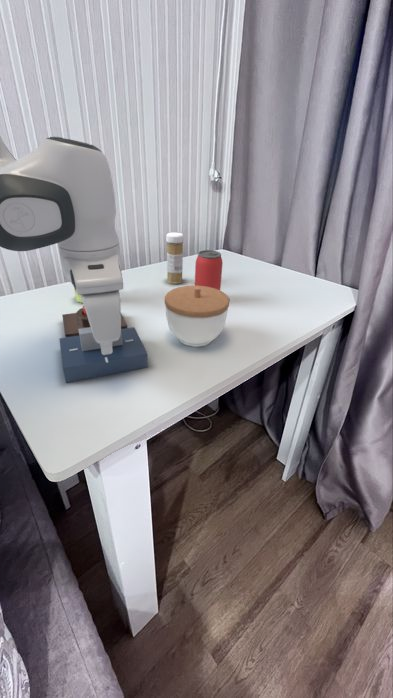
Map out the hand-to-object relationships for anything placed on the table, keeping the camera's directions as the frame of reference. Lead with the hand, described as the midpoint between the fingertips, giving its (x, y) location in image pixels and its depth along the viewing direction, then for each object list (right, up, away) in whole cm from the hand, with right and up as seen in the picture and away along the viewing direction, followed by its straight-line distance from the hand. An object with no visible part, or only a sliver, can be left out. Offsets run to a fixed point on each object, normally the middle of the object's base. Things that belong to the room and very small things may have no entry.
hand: (102, 338), depth 59 cm
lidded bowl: (+16, 0, +10) cm, 20 cm away
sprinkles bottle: (+10, +17, +36) cm, 42 cm away
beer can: (+19, +11, +27) cm, 35 cm away
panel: (0, -4, +2) cm, 5 cm away
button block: (-5, +2, +12) cm, 13 cm away
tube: (-11, +10, +24) cm, 28 cm away
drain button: (-5, +5, +10) cm, 12 cm away
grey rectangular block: (0, -1, +1) cm, 1 cm away
